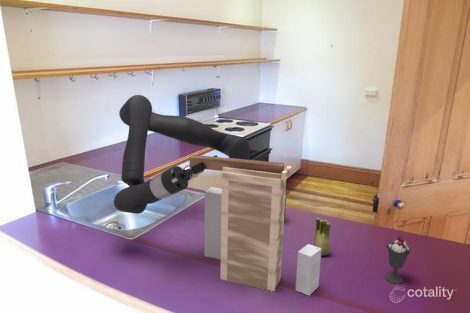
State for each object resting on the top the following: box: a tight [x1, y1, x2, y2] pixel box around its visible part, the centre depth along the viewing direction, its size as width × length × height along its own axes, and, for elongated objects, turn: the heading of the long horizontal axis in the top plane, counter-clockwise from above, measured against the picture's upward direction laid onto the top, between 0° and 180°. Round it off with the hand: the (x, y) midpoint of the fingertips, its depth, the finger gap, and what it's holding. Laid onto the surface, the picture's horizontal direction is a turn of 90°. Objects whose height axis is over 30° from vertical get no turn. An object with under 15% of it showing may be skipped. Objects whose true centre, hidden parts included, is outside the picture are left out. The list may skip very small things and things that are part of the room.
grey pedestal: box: [204, 186, 222, 261], centre depth 113 cm, size 5×8×22 cm, turn 69°
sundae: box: [384, 234, 412, 285], centre depth 102 cm, size 7×7×15 cm
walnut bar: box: [188, 154, 285, 174], centre depth 96 cm, size 3×26×3 cm, turn 73°
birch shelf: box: [220, 165, 293, 292], centre depth 98 cm, size 7×17×34 cm, turn 69°
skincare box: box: [295, 243, 322, 296], centre depth 97 cm, size 6×4×12 cm
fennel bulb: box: [314, 217, 332, 257], centre depth 117 cm, size 6×5×12 cm
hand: (211, 161), depth 99 cm, fingers open, 8 cm apart
